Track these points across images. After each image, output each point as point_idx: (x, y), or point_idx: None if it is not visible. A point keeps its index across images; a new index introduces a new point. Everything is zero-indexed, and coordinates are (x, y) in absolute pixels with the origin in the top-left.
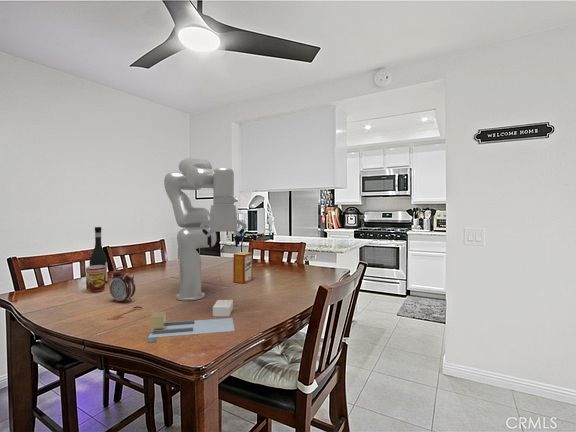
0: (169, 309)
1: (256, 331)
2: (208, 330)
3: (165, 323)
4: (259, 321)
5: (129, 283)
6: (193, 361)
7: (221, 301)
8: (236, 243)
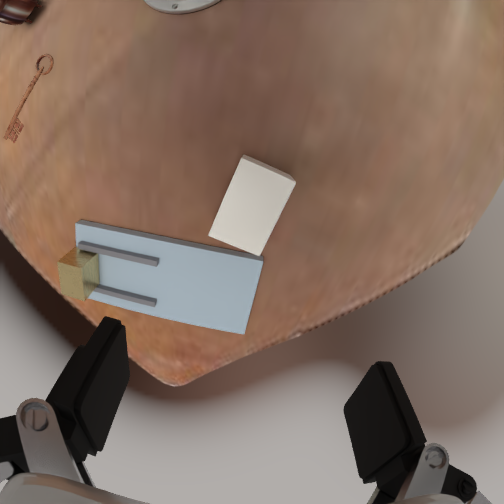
0: (107, 82)
1: (294, 326)
2: (189, 313)
3: (94, 262)
4: (328, 278)
5: (4, 11)
6: (164, 374)
7: (250, 184)
8: (352, 431)
